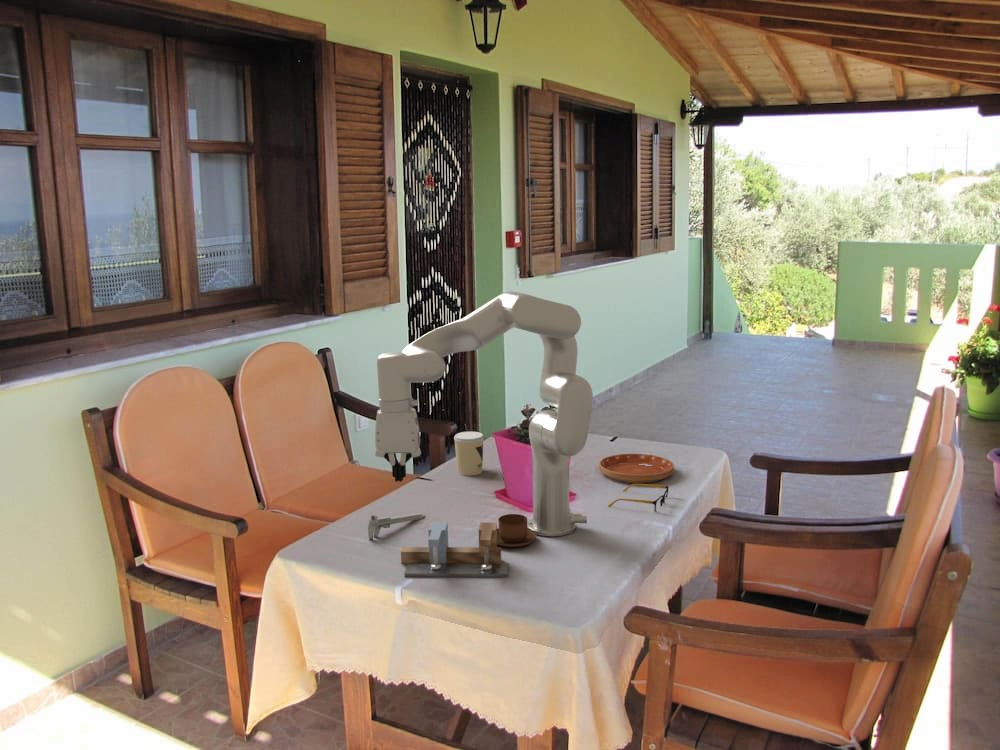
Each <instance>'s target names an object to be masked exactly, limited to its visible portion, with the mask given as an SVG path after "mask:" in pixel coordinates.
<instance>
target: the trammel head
mask: <svg viewBox="0 0 1000 750" xmlns="http://www.w3.org/2000/svg"><path fill="white" fill-rule="evenodd" d="M448 528H449V524H448V522H444V521H443V522H440V521H439V522H438V521H437V522H436V521H435V522H434V521H433V522H430V524H429V528H428V531H427V532H428V539H427V541H428V543H427V545H428V547H429V560H430V563H434V564H437V563H447V562H446V550H447V547H449V529H448Z"/></svg>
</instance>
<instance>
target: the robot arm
mask: <svg viewBox="0 0 1000 750" xmlns="http://www.w3.org/2000/svg"><path fill="white" fill-rule="evenodd" d="M581 326H582V318H581V315H580V313H579V311H578V310H577V309H576V308H575V307H573V306H571V305H568V304H565V303H560V302H556V301H552V300H547V299H544V298H540V297H537V296H535V295H531V294H528V293H527V294H526V293H521V292H518V291H517V292H516V291H504V292H502V293H500V294H498V295H497V296H495V297H494V298H492V299H491V300H489V301H488V302H485V304H483V305H481V306H480V307H478V308H477V309H475V310H474V311H471V312H470V313H469V314H467V315H466V316H464V317H462V318H460V319H457V320H454V321H452V322H450V323H448V324H445V325H443V326H440V327H437V328H434V329H432V330H431V331H428V332H427V333H425V334H423V335H422V336H420V337H419V338H417V339H415V340H414V341H412V342H411V343H409V344H408V345H407V346H406V347H404V349H403V350H402V352H401V351H389V352H388V351H387V352H384V353H381V354H379V355H378V357H377V360H376V366H377V367H376V368H377V369H376V371H377V387H378V401H379V402H378V403H379V409H378V410H377V412H376V416H375V437H374V438H375V439H374V441H375V444H374V445H375V456H376V457H378V458H382V459H385V460H386V461H387V462H388V463H390V466H391V469H392V470H391V471H392V478H394V481H395V482H400V483H401V482H403V480H404V478H406V477H407V469H406V464H407V462H409V461H410V460H411V459H412V458H418V457H420V456H421V454H422V452H421V448H420V445H421V436H420V427H419V420H418V414H417V411H416V409H415V408H413V407H415V406H416V407H418V405H419V401H418V399H414V398H413V396H412V386H411V385H412V383H434V382H436V381H438V380H440V379H441V378H442V377H443V375H444V374H445V371H446V362H445V360H444V357H447V356H450V355H452V354H453V355H454V354H456V353H462V352H463V353H464V352H472V351H476V350H479V349H482V348H484V347H486V346H487V345H488V344H489V343H492V341H495V340H496V339H497V338H498V337H500V336H502V335H503V334H505V333H507V332H508V331H510V330H512V329H514V328H515V329H519V330H522V331H526V332H530V333H532V334H537V335H539V337H540V339H541V341H542V345H543V364H542V369H541V377H540V383H539V397H540V399H541V401H543V402H544V403H545V404H546V405H548V406H551V407H554V408H556V409H557V411H555V410H550V409H548V410H547V409H544V410H541V411H539V412H537V413H535V414H534V415H533V417H532V418H531V419H530V421H529V425H528V436H529V437H528V438H529V442H530V446H531V447H530V449H531V454H532V455H531V457H532V517H533V518H532V519H529V521H527V528H529V529H532V530H534V531H535V532H536V534H537V536H542V537H561V536H566V535H569V534H571V533H572V532H575V529H576V524H578V523H579V524H587V523H588V522H587V521H588V517H587V515H583V513H573V512H571V511H572V510H571V507H570V459H569V457H574V456H577V455H579V453H581V451H582V450H583V449H584V447H585V445H586V443H587V439H588V436H589V435H588V434H589V429H590V422H591V416H592V412H593V411H592V410H593V404H594V403H593V402H594V395H593V394H594V393H593V388H592V387H591V384H590V383H589V381H588V380H587V379H585V378H584V377H583V376H580V375H578V374H577V363H578V351H579V350H578V342H577V339H576V335H577V334H578V333H579V331H580V328H581ZM397 454H400V459H399V460H398V456H397Z"/></svg>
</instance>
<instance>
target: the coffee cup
mask: <svg viewBox="0 0 1000 750" xmlns="http://www.w3.org/2000/svg"><path fill="white" fill-rule="evenodd" d="M453 439H454V440H453V441H454V449H455V450H454V451H455V459H456V468H457V473H458V474H459V475H460V476H461V475H462V476H469V477H470V476H477V475H480V474H481V473H482V471H483V457H484V440H485V437H484V435H483V433H481V432H480V431H479V432H478V431H462V432H458V433H456V434H455V435H454V437H453Z"/></svg>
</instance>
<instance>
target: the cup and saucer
mask: <svg viewBox="0 0 1000 750" xmlns="http://www.w3.org/2000/svg"><path fill="white" fill-rule="evenodd" d="M497 521H498V522H497V523H498V527H497V546H502V547H506V548H517V547H518V548H519V547H525V546H527V545H530V544H532V543H533V542H534V541H535V540H536V539H537V537H538V535H537V534H536V532H535V531H534V530H532V529H529V528H527V524H528V517H527V516H525V515H522V514H519V513H518V514H517V513H510V514H503V515H501V516H500V517H498V520H497Z"/></svg>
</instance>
